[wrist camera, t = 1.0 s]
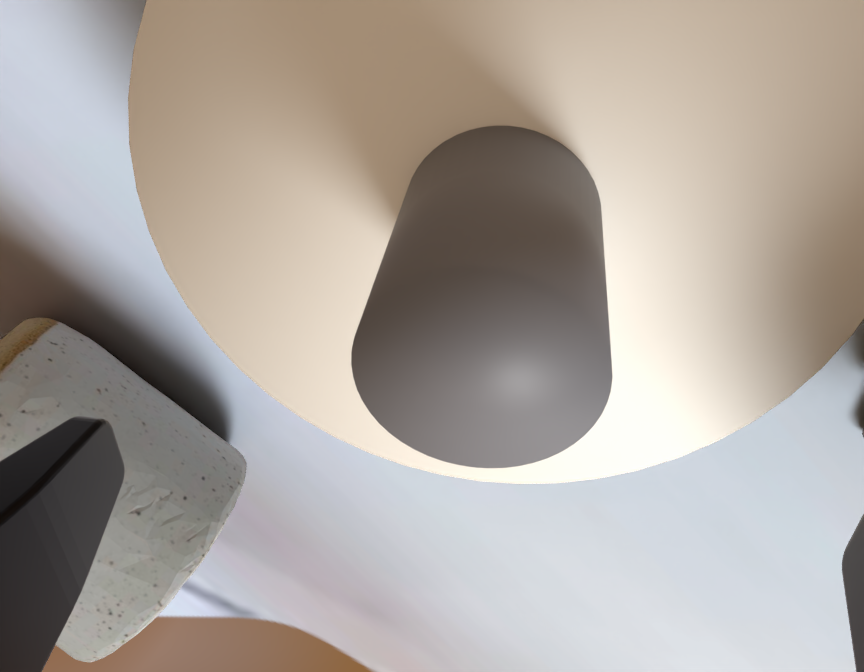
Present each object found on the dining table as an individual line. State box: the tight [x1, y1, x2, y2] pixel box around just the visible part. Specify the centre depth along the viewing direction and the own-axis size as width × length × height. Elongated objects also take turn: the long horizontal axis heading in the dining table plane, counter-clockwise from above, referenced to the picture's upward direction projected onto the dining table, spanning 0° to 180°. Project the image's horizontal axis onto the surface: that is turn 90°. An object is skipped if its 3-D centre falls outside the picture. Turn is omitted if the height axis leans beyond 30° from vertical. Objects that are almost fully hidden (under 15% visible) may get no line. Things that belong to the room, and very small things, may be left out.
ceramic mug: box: [0, 318, 247, 662], centre depth 25 cm, size 11×8×8 cm
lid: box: [128, 0, 864, 484], centre depth 13 cm, size 14×14×6 cm
